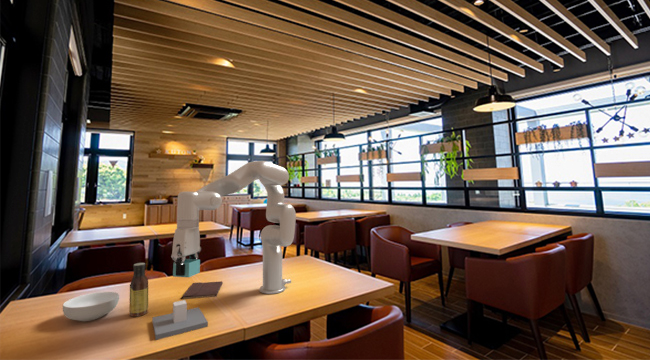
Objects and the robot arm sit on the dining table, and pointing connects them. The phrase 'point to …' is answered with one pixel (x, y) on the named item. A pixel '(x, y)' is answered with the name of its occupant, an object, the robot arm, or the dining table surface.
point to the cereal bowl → (90, 306)
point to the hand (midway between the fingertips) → (186, 272)
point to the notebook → (202, 290)
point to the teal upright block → (189, 267)
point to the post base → (178, 327)
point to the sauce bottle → (138, 291)
